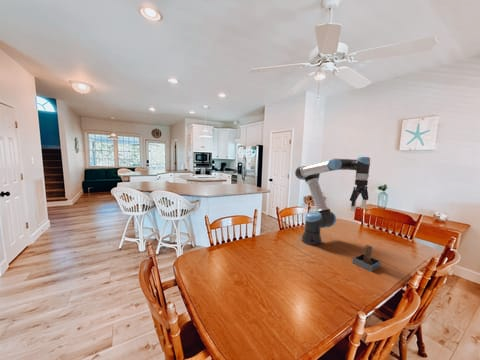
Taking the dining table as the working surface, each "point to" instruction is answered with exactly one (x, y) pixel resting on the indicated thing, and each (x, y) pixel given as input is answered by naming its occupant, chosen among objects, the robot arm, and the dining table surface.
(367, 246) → the curved brown wooden bar
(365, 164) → the robot arm
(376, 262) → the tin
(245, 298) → the dining table surface
